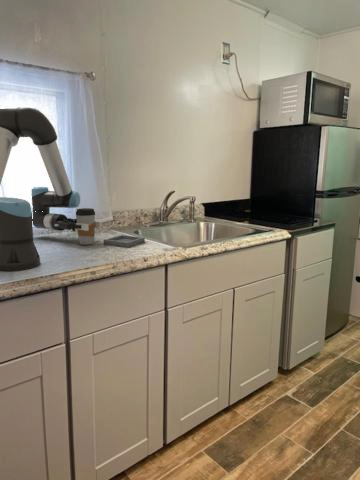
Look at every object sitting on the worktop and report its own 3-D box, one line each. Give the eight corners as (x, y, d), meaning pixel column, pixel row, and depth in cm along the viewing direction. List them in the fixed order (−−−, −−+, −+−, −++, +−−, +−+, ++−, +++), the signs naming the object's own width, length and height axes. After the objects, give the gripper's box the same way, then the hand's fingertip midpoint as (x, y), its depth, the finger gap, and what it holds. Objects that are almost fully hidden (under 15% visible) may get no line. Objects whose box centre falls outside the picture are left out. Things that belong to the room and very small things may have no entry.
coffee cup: (91, 245, 159) (90, 210, 156) (73, 244, 161) (71, 210, 158) (99, 241, 167) (98, 208, 164) (82, 240, 169) (80, 207, 166)
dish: (127, 247, 158) (127, 242, 158) (103, 244, 164) (103, 239, 164) (144, 242, 169) (144, 237, 169) (121, 239, 175) (121, 234, 175)
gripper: (73, 226, 181) (110, 231, 170) (39, 233, 163) (77, 238, 152) (72, 211, 179) (109, 214, 168) (37, 216, 162) (77, 220, 151)
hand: (94, 226), depth 160 cm, fingers closed on coffee cup, 7 cm apart
